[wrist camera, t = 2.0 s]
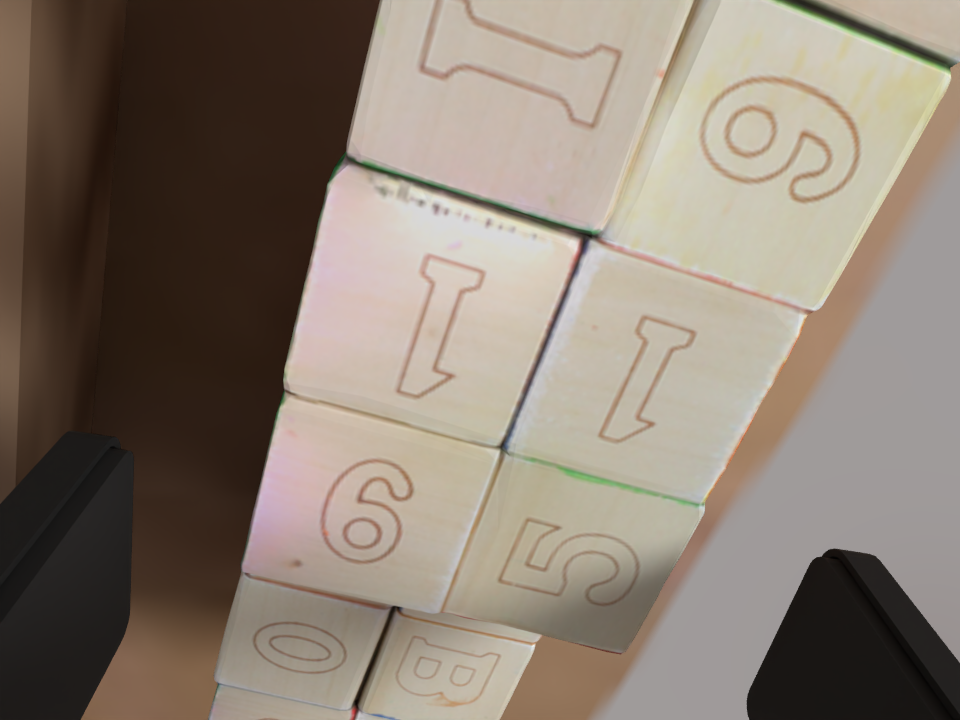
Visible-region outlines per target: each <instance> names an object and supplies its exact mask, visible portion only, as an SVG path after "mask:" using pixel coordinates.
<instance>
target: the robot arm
mask: <svg viewBox="0 0 960 720" xmlns="http://www.w3.org/2000/svg"><path fill="white" fill-rule="evenodd" d="M133 474H134V457H133V453H132V452H131V451H127V450H121V445H120V442H119V440H118V439H117V438H116V437H111V436H105V435H98V434H92V433H85V432H79V431H68V432H66V433H65V434H64V435H63V436H62V437H61V438H60V439H59V440H58V441H57V442H56V443H55V445H54V446H53V447H52V448H51V449H50V450H49V451H48V452H47V453H46V454H45V455H44V457H43V458H42V459H41V460H40V461H39V462H38V463H37V464H36V465H35V466H34V467H33V469H32V470H31V471H30V472H29V473H28V474H27V475H26V476H25V477H24V478H23V479H22V481H21V482H20V483H19V484H18V485H17V486H16V487H15V488H14V489H13V490H12V492H11V493H10V494H9V495H8V496H7V497H6V498H5V499H4V500H3V501H2V502H1V504H0V720H81V718H82V716H83V714H84V712H85V710H86V708H87V706H88V704H89V702H90V700H91V699H92V697H93V695H94V693H95V691H96V689H97V687H98V685H99V683H100V681H101V679H102V678H103V676H104V674H105V672H106V670H107V668H108V666H109V664H110V662H111V660H112V658H113V657H114V655H115V653H116V651H117V649H118V647H119V645H120V643H121V641H122V639H123V637H124V634H125V631H126V628H127V625H128V620H129V615H130V594H131V554H132V514H133ZM747 712H748V717H749V720H960V663H959V662H958V660H957V659H956V658H955V656H954V655H953V654H952V653H951V651H950V650H949V649H948V647H947V646H946V645H945V643H944V642H943V641H942V640H941V639H940V637H939V636H938V635H937V633H936V632H935V631H934V629H933V628H932V627H931V625H930V624H929V623H928V622H927V620H926V619H925V618H924V617H923V615H922V614H921V613H920V611H919V610H918V609H917V607H916V606H915V605H914V604H913V602H912V601H911V600H910V599H909V597H908V596H907V595H906V593H905V592H904V591H903V589H902V588H901V587H900V586H899V584H898V583H897V582H896V580H895V579H894V578H893V577H892V575H891V574H890V573H889V572H888V570H887V569H886V568H885V566H884V565H883V564H882V562H881V561H880V560H879V559H878V558H877V557H876V556H873V555H871V554H866V553H860V552H854V551H846V550H840V549H830V550H828V551H826V552H825V553H824V554H823V556H822V557H817V558H815V559H814V560H813V561H812V562H811V563H810V565H809V567H808V569H807V571H806V573H805V575H804V577H803V580H802V582H801V584H800V586H799V588H798V590H797V592H796V594H795V596H794V598H793V600H792V602H791V605H790V607H789V609H788V611H787V613H786V615H785V617H784V619H783V621H782V623H781V625H780V627H779V629H778V631H777V634H776V636H775V638H774V640H773V642H772V644H771V646H770V648H769V650H768V652H767V655H766V656H765V659H764V661H763V663H762V665H761V667H760V669H759V671H758V674H757V675H756V677H755V679H754V681H753V684H752V686H751V688H750V690H749V693H748V697H747Z"/></svg>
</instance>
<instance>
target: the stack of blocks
mask: <svg viewBox="0 0 960 720" xmlns="http://www.w3.org/2000/svg"><path fill="white" fill-rule="evenodd" d="M959 62H960V0H380V2H379V7H378V11H377V15H376V19H375V23H374V28H373V32H372V36H371V40H370V44H369V49H368V53H367V57H366V61H365V66H364V70H363V74H362V79H361V83H360V87H359V92H358V96H357V100H356V105H355V109H354V113H353V118H352V122H351V126H350V131H349V135H348V140H347V148H346V152H345V153H344V155H343V156H342V157H341V158H340V160H339V161H338V163H337V164H336V166H335V168H334V170H333V172H332V175H331V177H330V179H329V182H328V184H327V188H326V193H325V198H324V203H323V206H322V210H321V213H320V217H319V220H318V225H317V230H316V235H315V241H314V246H313V251H312V255H311V259H310V263H309V267H308V271H307V275H306V279H305V283H304V287H303V291H302V296H301V300H300V304H299V308H298V313H297V317H296V321H295V326H294V330H293V334H292V339H291V343H290V347H289V352H288V356H287V360H286V365H285V369H284V378H283V383H284V392H283V395H282V398H281V401H280V404H279V407H278V410H277V413H276V418H275V422H274V426H273V430H272V434H271V439H270V443H269V447H268V452H267V456H266V460H265V465H264V469H263V473H262V478H261V482H260V486H259V490H258V494H257V498H256V502H255V506H254V510H253V515H252V519H251V523H250V528H249V532H248V537H247V541H246V546H245V550H244V553H243V557H242V560H241V564H240V566H241V576H240V579H239V583H238V586H237V590H236V593H235V597H234V600H233V603H232V607H231V610H230V614H229V617H228V621H227V625H226V629H225V633H224V636H223V640H222V644H221V648H220V652H219V656H218V660H217V664H216V667H215V672H214V679H215V681H216V682H217V683H218V686H217V689H216V693H215V696H214V700H213V703H212V707H211V710H210V714H209V718H208V720H500V718H501V716H502V714H503V712H504V710H505V708H506V706H507V704H508V702H509V700H510V698H511V696H512V694H513V692H514V690H515V688H516V686H517V684H518V682H519V679H520V677H521V675H522V673H523V671H524V669H525V668H526V666H527V664H528V662H529V660H530V658H531V656H532V654H533V652H534V649H535V644H536V642H537V641H538V640H539V639H540V638H541V637H542V635H544V636H548V637H552V638H556V639H560V640H563V641H567V642H571V643H575V644H579V645H583V646H586V647H590V648H594V649H598V650H602V651H606V652H611V653H616V654H622V653H624V652H626V651H627V649H628V647H629V646H630V644H631V643H632V641H633V640H634V638H635V636H636V634H637V633H638V631H639V629H640V627H641V625H642V624H643V622H644V620H645V618H646V616H647V615H648V613H649V611H650V609H651V608H652V606H653V604H654V602H655V601H656V599H657V597H658V595H659V593H660V591H661V589H662V587H663V585H664V583H665V581H666V580H667V578H668V576H669V575H670V573H671V571H672V570H673V568H674V566H675V565H676V563H677V561H678V560H679V558H680V556H681V554H682V553H683V551H684V549H685V547H686V545H687V544H688V542H689V540H690V538H691V536H692V534H693V533H694V531H695V529H696V527H697V525H698V524H699V522H700V520H701V518H702V516H703V515H704V513H705V500H706V499H707V498H708V496H709V495H710V493H711V491H712V490H713V488H714V487H715V485H716V484H717V482H718V480H719V479H720V477H721V476H722V474H723V473H724V471H725V469H726V468H727V466H728V464H729V463H730V461H731V459H732V457H733V455H734V454H735V452H736V450H737V448H738V446H739V445H740V443H741V441H742V439H743V437H744V436H745V434H746V432H747V430H748V428H749V427H750V425H751V423H752V421H753V419H754V417H755V415H756V412H757V410H758V408H759V406H760V404H761V402H762V401H763V399H764V398H765V396H766V395H767V393H768V392H769V390H770V388H771V387H772V385H773V384H774V382H775V380H776V378H777V377H778V375H779V373H780V371H781V370H782V368H783V366H784V364H785V363H786V361H787V359H788V357H789V355H790V353H791V351H792V349H793V348H794V346H795V344H796V342H797V340H798V338H799V336H800V334H801V331H802V328H803V325H804V323H805V320H806V317H807V315H809V314H811V313H812V312H814V311H816V310H818V309H819V308H821V307H822V305H823V303H824V302H825V300H826V298H827V297H828V295H829V294H830V292H831V290H832V289H833V287H834V285H835V284H836V282H837V280H838V279H839V277H840V275H841V273H842V272H843V270H844V268H845V266H846V265H847V263H848V261H849V260H850V258H851V256H852V254H853V253H854V251H855V249H856V247H857V246H858V244H859V242H860V241H861V239H862V237H863V235H864V234H865V232H866V230H867V229H868V227H869V225H870V223H871V222H872V220H873V218H874V217H875V215H876V213H877V211H878V210H879V208H880V206H881V205H882V203H883V201H884V199H885V198H886V196H887V194H888V192H889V191H890V189H891V187H892V185H893V184H894V182H895V180H896V178H897V177H898V175H899V173H900V171H901V170H902V168H903V166H904V164H905V162H906V161H907V159H908V157H909V155H910V154H911V152H912V150H913V148H914V147H915V145H916V143H917V141H918V139H919V138H920V136H921V134H922V132H923V131H924V129H925V127H926V125H927V124H928V122H929V120H930V118H931V117H932V115H933V113H934V111H935V109H936V108H937V106H938V104H939V102H940V101H941V99H942V97H943V96H944V95H945V93H946V90H947V88H948V85H949V83H950V81H951V73H950V67H952V66H954V65H955V64H957V63H959Z"/></svg>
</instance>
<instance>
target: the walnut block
mask: <svg viewBox="0 0 960 720" xmlns="http://www.w3.org/2000/svg"><path fill="white" fill-rule="evenodd" d="M126 10H127V0H0V504H1V502H2V501H3V500H4V499H5V498H6V497H7V496H8V495H9V494H10V493H11V492H12V490H13V489H14V488H15V487H16V486H17V485H18V484H19V483H20V482H21V481H22V479H23V478H24V477H25V476H26V475H27V474H28V473H29V472H30V471H31V470H32V469H33V467H34V466H35V465H36V464H37V463H38V462H39V461H40V460H41V459H42V458H43V457H44V455H45V454H46V453H47V452H48V451H49V450H50V449H51V448H52V447H53V446H54V445H55V443H56V442H57V441H58V440H59V439H60V438H61V437H62V436H63V435H64V434H65V433H66V432H68V431H79V432H85V433H92V421H93V409H94V397H95V385H96V373H97V360H98V348H99V336H100V324H101V312H102V300H103V288H104V276H105V264H106V252H107V240H108V228H109V216H110V203H111V191H112V179H113V167H114V155H115V143H116V131H117V119H118V107H119V95H120V83H121V71H122V59H123V47H124V34H125V22H126Z"/></svg>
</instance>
